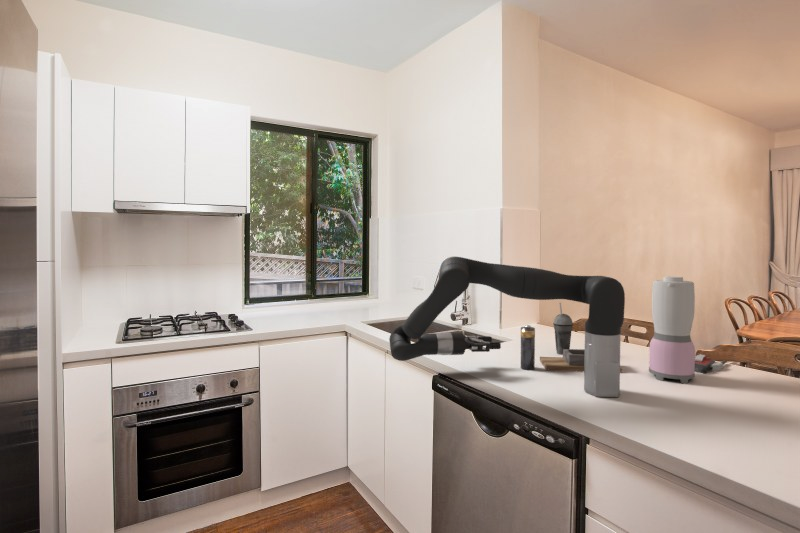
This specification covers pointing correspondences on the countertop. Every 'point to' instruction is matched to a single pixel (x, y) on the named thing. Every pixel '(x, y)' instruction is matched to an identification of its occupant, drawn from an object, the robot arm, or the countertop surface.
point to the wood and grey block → (566, 361)
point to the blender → (672, 329)
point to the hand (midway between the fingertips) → (495, 342)
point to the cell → (528, 347)
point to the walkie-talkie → (707, 364)
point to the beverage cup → (562, 331)
